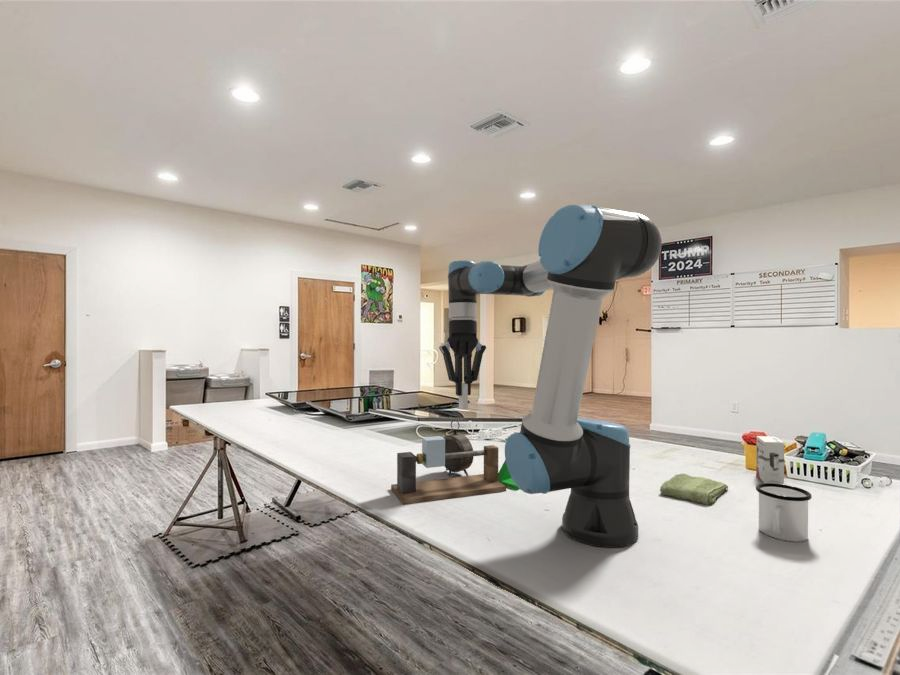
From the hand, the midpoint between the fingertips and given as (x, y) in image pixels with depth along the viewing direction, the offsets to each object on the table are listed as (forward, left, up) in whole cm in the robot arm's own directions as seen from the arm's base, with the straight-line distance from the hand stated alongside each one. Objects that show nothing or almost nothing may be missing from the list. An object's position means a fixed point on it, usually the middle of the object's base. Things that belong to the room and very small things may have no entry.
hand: (463, 407), depth 125 cm
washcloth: (-23, -56, -22) cm, 65 cm away
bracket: (0, -17, -22) cm, 28 cm away
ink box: (-24, -85, -22) cm, 91 cm away
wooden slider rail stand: (+1, +4, -22) cm, 22 cm away
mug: (-50, -50, -22) cm, 74 cm away
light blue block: (+1, +8, -15) cm, 17 cm away
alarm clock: (+13, -3, -22) cm, 25 cm away
